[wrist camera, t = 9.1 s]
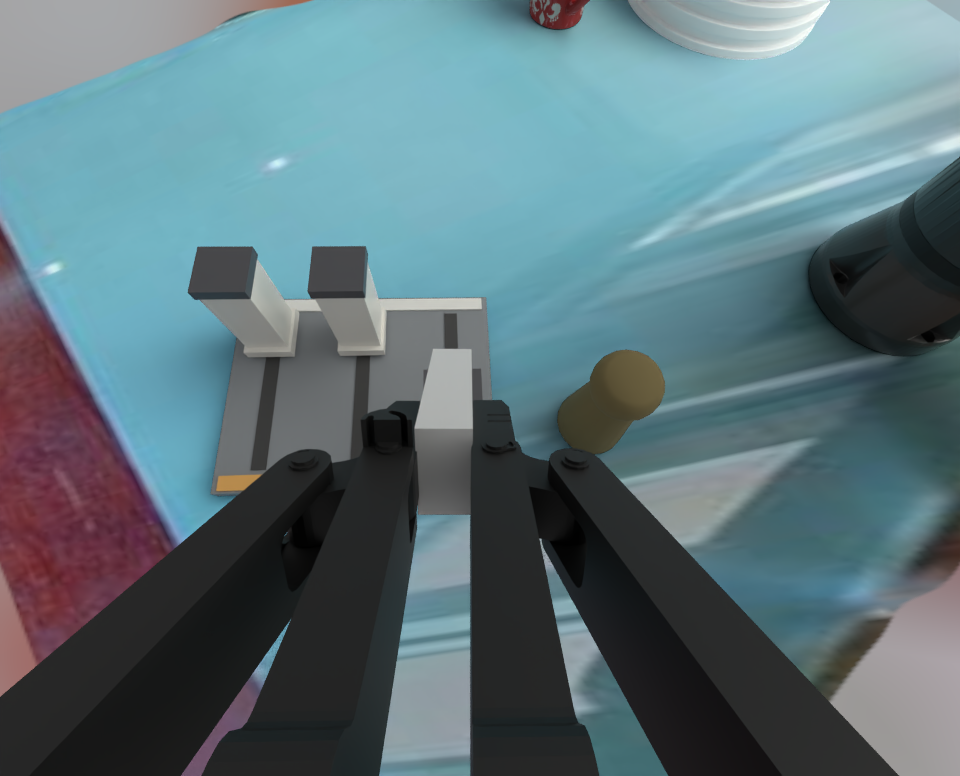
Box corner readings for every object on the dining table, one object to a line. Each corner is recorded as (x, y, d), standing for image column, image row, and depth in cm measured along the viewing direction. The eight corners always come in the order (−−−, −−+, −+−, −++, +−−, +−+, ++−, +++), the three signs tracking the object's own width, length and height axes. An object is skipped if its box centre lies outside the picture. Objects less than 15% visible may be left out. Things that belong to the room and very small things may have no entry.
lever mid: (385, 355, 40) (364, 294, 31) (340, 355, 40) (305, 295, 31) (386, 312, 42) (367, 243, 33) (343, 313, 42) (311, 243, 32)
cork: (633, 443, 40) (694, 404, 30) (572, 463, 39) (613, 429, 29) (606, 383, 42) (655, 327, 32) (547, 401, 41) (578, 349, 31)
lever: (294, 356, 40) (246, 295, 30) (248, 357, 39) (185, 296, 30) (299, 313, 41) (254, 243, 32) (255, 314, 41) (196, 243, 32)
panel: (495, 485, 38) (497, 483, 37) (218, 496, 37) (209, 493, 35) (485, 303, 45) (486, 296, 43) (248, 306, 43) (242, 298, 42)
